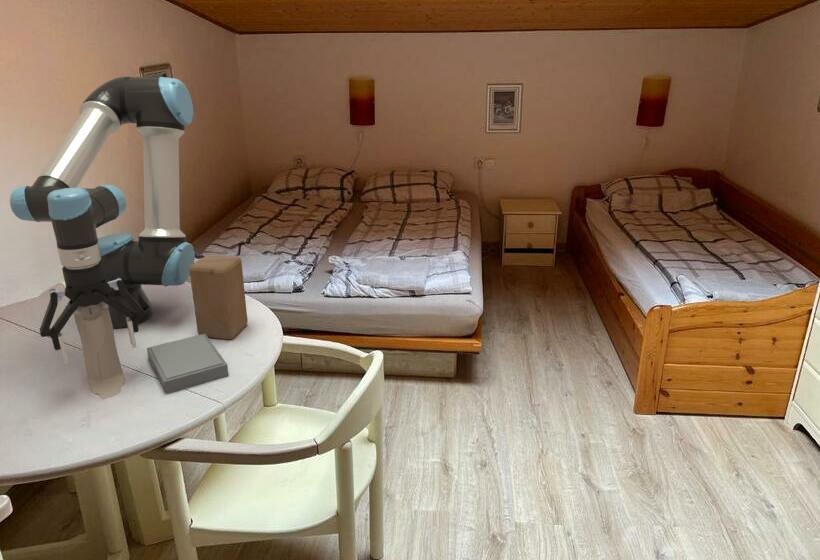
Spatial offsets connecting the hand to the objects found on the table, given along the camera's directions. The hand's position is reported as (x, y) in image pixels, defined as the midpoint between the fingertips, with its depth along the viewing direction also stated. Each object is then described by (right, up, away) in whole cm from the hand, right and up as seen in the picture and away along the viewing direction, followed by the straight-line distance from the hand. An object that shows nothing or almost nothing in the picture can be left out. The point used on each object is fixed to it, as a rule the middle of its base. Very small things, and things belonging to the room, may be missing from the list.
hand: (100, 353), depth 130 cm
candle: (0, -7, +3) cm, 8 cm away
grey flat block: (+16, -4, +10) cm, 19 cm away
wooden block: (+19, +2, +27) cm, 33 cm away
